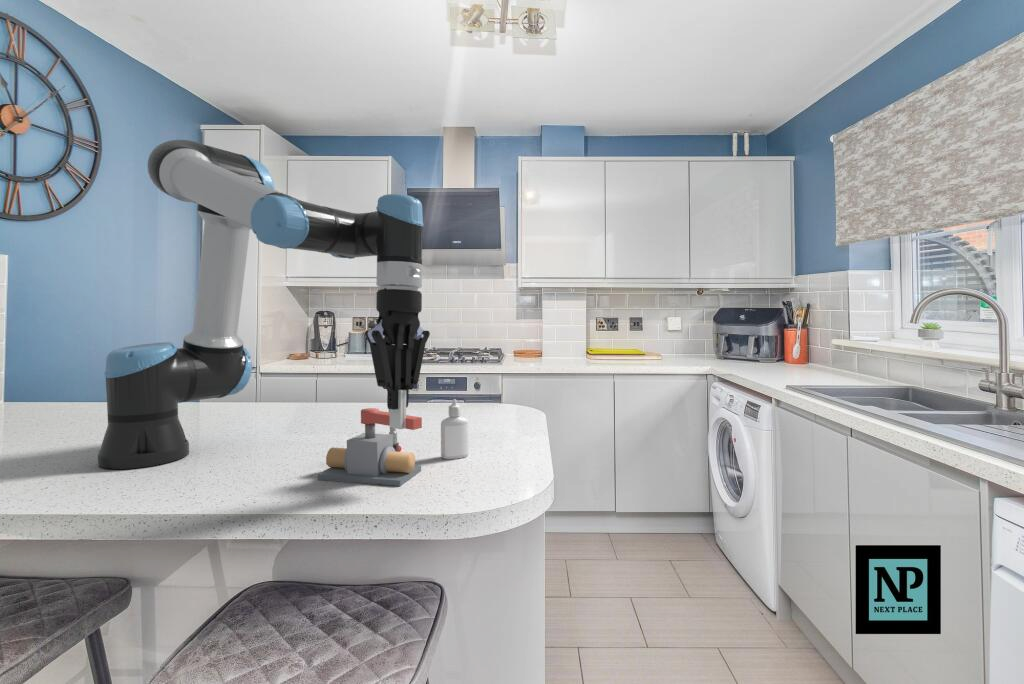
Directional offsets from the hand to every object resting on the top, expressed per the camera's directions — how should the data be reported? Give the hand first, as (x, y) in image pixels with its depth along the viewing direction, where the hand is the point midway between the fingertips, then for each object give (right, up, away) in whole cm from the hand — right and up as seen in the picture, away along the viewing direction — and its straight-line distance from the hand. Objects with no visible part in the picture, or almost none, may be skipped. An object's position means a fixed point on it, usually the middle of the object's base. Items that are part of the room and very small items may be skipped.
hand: (397, 427), depth 87 cm
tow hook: (-9, -10, +20) cm, 24 cm away
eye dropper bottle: (+8, -10, +19) cm, 22 cm away
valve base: (-6, -10, +7) cm, 14 cm away
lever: (-2, 0, +3) cm, 4 cm away
